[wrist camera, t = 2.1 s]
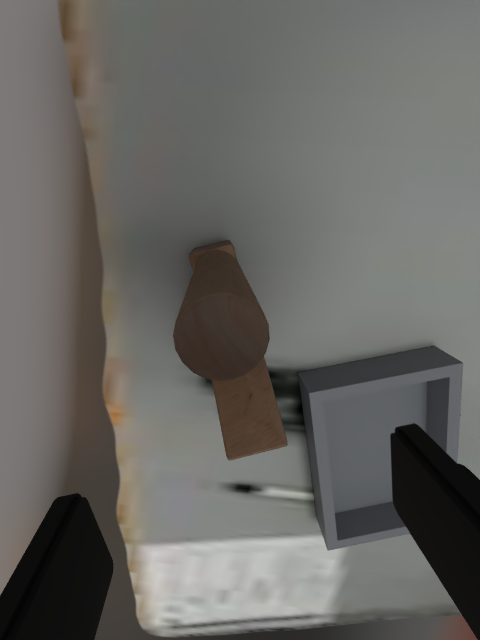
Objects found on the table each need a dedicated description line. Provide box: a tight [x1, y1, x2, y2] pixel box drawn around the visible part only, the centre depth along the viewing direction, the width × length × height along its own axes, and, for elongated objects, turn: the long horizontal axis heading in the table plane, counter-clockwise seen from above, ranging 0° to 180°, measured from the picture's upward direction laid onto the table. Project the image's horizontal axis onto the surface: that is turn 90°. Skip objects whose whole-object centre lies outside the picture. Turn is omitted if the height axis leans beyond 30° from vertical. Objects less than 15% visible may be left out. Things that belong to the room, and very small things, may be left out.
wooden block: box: [173, 240, 287, 460], centre depth 21 cm, size 4×11×18 cm, turn 14°
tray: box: [298, 346, 463, 550], centre depth 34 cm, size 20×14×4 cm
